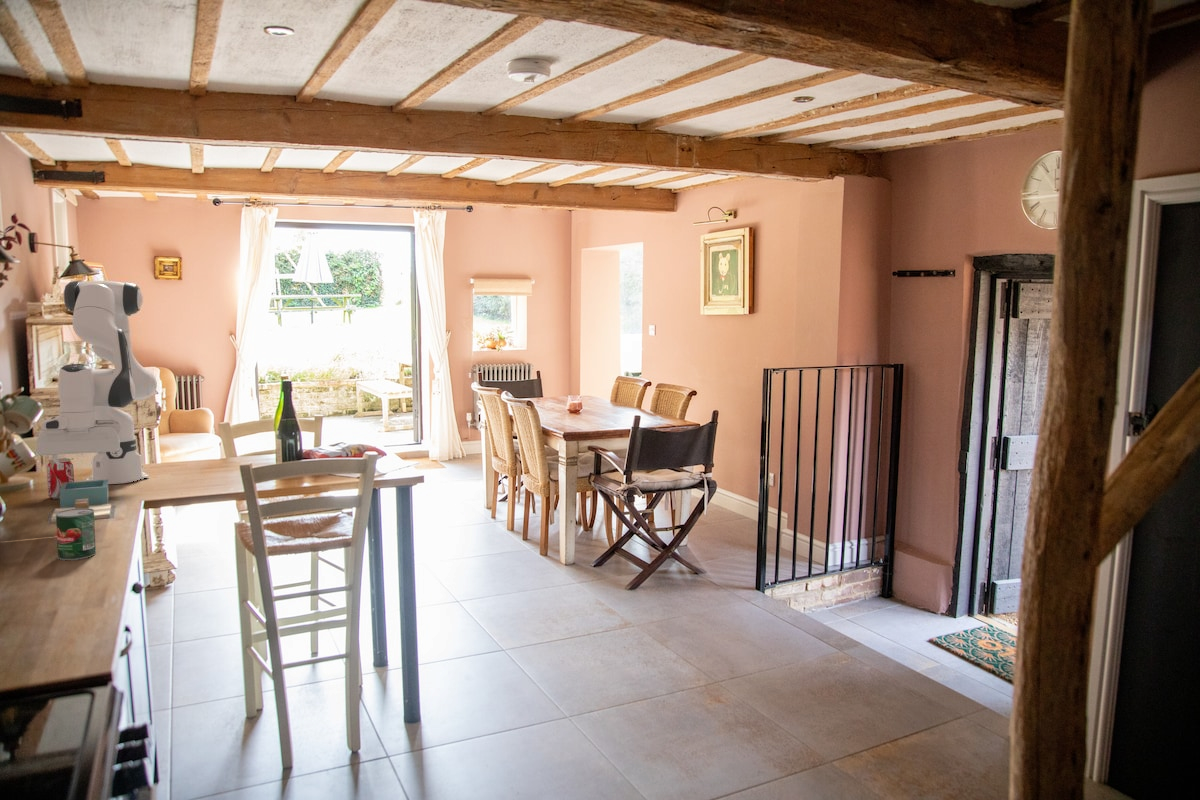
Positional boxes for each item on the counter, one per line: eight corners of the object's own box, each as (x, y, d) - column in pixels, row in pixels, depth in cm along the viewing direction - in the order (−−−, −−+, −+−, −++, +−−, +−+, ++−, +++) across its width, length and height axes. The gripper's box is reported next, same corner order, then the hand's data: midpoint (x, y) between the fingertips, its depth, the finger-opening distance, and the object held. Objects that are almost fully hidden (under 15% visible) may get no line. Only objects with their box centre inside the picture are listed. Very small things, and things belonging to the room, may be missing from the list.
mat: (51, 512, 237) (51, 511, 237) (115, 507, 245) (115, 505, 245) (46, 525, 223) (46, 524, 223) (113, 519, 231) (113, 517, 231)
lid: (55, 511, 236) (54, 498, 236) (111, 506, 243) (110, 493, 243) (51, 522, 224) (50, 508, 224) (109, 517, 231) (109, 503, 231)
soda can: (65, 500, 252) (63, 462, 250) (42, 499, 252) (40, 461, 251) (79, 495, 259) (78, 458, 258) (58, 494, 259) (56, 457, 258)
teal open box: (63, 501, 250) (62, 482, 249) (108, 497, 256) (108, 479, 255) (60, 510, 240) (59, 490, 239) (107, 506, 245) (106, 486, 245)
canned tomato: (52, 561, 192) (50, 516, 191) (64, 552, 200) (62, 508, 199) (89, 559, 195) (87, 515, 193) (100, 550, 202) (98, 507, 201)
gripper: (120, 418, 239) (122, 464, 240) (36, 421, 228) (38, 469, 230) (119, 420, 233) (121, 467, 235) (34, 424, 223) (36, 473, 224)
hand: (80, 468), depth 232 cm, fingers open, 8 cm apart
